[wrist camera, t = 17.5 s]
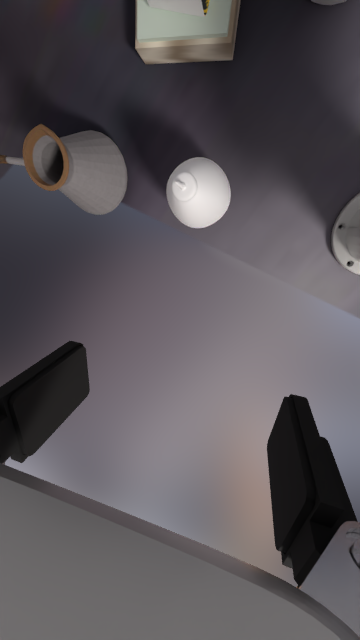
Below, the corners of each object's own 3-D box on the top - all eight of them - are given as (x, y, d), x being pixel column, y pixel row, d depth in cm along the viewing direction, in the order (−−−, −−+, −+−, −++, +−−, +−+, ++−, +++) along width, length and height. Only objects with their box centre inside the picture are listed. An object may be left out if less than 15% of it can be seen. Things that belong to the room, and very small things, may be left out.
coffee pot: (135, 138, 35) (67, 87, 22) (134, 218, 40) (78, 216, 27) (22, 133, 40) (-91, 88, 26) (33, 206, 44) (-58, 199, 31)
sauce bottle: (241, 207, 35) (237, 195, 19) (199, 236, 38) (164, 246, 22) (217, 158, 34) (189, 100, 18) (174, 192, 37) (118, 169, 21)
